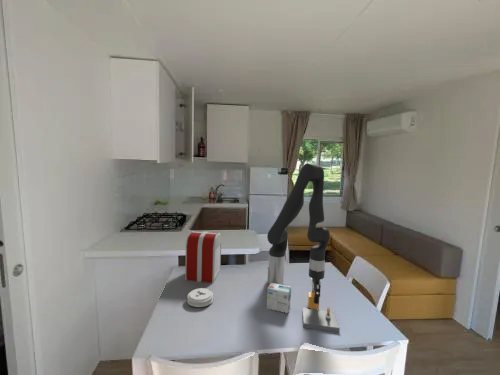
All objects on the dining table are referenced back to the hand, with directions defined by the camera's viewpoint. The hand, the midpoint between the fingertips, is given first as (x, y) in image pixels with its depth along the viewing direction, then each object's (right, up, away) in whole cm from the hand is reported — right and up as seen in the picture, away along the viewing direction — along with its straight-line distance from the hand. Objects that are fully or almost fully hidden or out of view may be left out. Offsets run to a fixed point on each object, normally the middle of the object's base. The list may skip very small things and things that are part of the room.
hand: (315, 298), depth 130 cm
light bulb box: (-19, -4, -2) cm, 19 cm away
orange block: (-1, -4, 0) cm, 4 cm away
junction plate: (-1, -5, -12) cm, 13 cm away
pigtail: (+3, -4, -13) cm, 13 cm away
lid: (-58, -2, +1) cm, 58 cm away
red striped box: (-61, +1, +30) cm, 68 cm away
